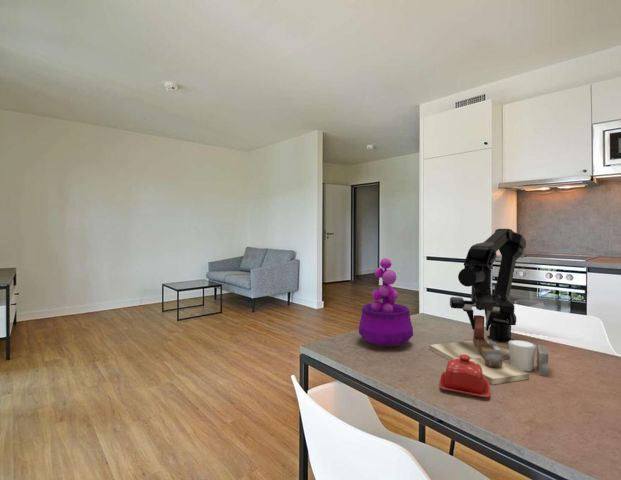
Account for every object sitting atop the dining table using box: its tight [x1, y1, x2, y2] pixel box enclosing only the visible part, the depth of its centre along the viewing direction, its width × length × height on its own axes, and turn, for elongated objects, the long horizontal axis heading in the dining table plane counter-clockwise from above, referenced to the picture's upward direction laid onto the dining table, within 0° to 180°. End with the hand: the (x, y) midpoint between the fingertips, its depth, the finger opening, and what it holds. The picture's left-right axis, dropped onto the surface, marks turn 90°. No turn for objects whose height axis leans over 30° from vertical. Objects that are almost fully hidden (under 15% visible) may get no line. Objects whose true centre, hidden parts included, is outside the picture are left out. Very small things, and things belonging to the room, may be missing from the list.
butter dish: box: [439, 354, 491, 398], centre depth 88 cm, size 12×12×8 cm
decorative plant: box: [358, 257, 414, 347], centre depth 121 cm, size 19×18×30 cm
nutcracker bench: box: [428, 339, 549, 386], centre depth 105 cm, size 24×27×6 cm
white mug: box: [508, 339, 537, 372], centre depth 101 cm, size 7×7×7 cm
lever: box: [472, 314, 503, 367], centre depth 106 cm, size 22×5×9 cm, turn 166°
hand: (479, 330), depth 115 cm, fingers open, 4 cm apart
